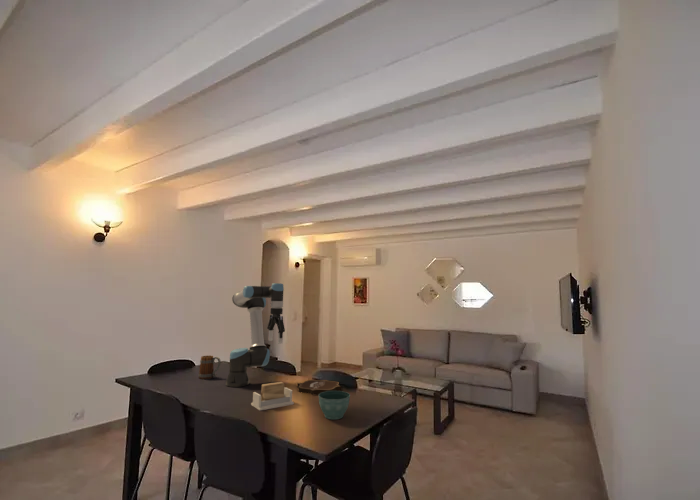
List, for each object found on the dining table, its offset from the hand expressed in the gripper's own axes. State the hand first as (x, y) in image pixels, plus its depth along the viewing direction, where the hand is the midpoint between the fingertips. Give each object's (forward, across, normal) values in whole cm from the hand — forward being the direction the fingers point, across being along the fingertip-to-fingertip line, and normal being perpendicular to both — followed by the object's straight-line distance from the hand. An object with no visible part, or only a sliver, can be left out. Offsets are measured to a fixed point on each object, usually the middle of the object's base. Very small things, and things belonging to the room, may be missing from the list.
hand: (275, 342), depth 233 cm
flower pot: (+31, +56, +8) cm, 65 cm away
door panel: (+30, +20, -10) cm, 37 cm away
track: (+31, +20, -10) cm, 38 cm away
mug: (+32, -65, -20) cm, 75 cm away
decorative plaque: (+32, +5, +30) cm, 44 cm away
